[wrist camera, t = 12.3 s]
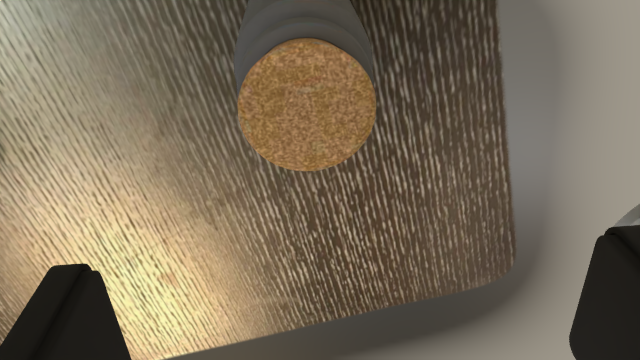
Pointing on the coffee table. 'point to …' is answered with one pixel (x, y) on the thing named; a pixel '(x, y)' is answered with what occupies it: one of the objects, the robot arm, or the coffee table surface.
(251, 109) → the bottle
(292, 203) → the coffee table surface
